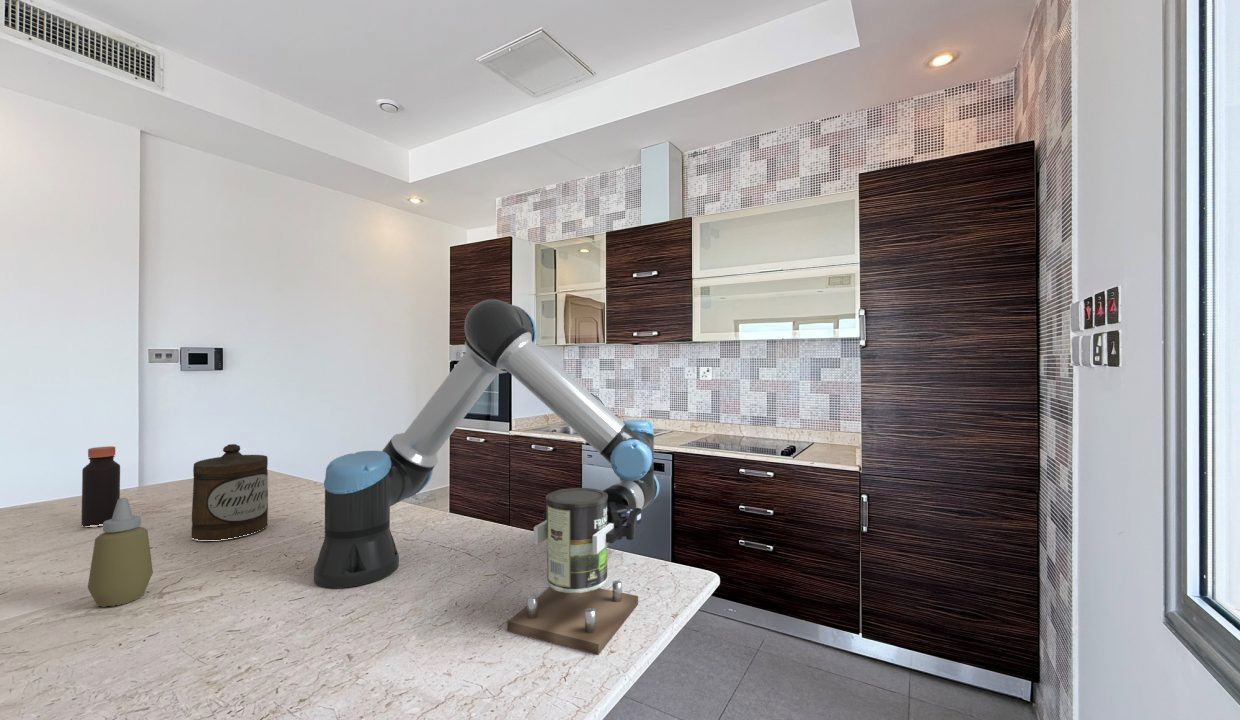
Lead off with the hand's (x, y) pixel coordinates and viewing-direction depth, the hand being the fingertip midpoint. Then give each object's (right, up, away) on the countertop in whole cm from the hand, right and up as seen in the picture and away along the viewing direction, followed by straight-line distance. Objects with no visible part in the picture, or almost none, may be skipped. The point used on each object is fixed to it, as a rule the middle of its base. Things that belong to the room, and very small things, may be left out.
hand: (564, 540), depth 77 cm
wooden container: (-89, -15, +44) cm, 100 cm away
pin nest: (+1, -14, +4) cm, 15 cm away
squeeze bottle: (-80, -14, +9) cm, 82 cm away
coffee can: (+2, -8, +4) cm, 9 cm away
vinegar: (-128, -15, +50) cm, 138 cm away
